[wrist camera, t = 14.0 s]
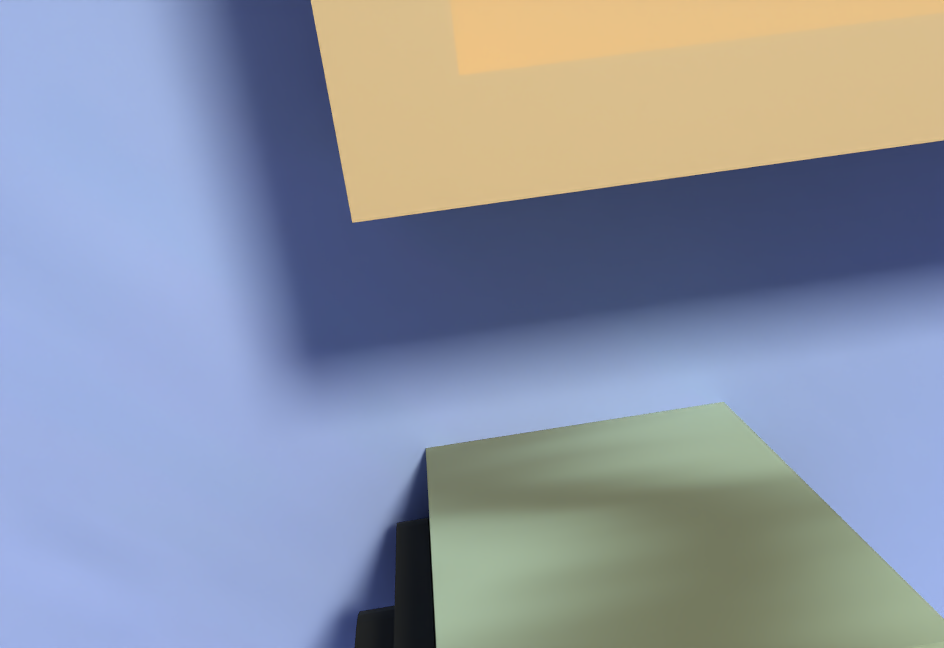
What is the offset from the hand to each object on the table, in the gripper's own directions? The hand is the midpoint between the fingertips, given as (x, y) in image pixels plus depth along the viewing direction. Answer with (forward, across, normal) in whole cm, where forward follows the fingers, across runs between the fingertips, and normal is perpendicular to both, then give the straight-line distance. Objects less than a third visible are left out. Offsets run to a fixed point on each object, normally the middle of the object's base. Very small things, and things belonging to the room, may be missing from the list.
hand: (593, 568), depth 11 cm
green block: (+1, 0, 0) cm, 1 cm away
